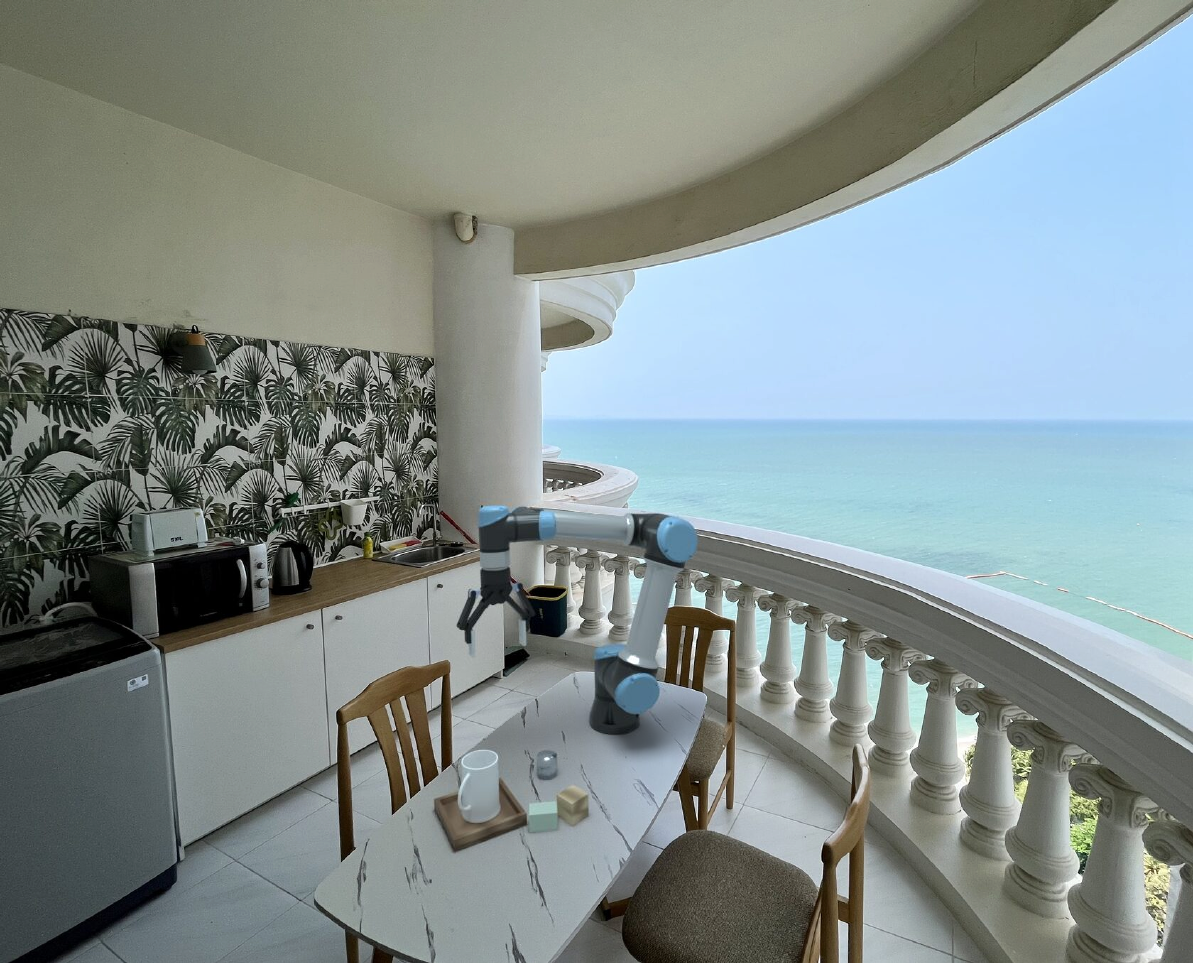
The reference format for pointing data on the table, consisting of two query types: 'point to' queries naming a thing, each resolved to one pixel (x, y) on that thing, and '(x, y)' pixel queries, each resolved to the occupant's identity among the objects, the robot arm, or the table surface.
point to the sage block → (543, 817)
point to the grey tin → (546, 765)
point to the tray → (474, 833)
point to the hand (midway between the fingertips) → (498, 650)
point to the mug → (479, 786)
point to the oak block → (572, 805)
